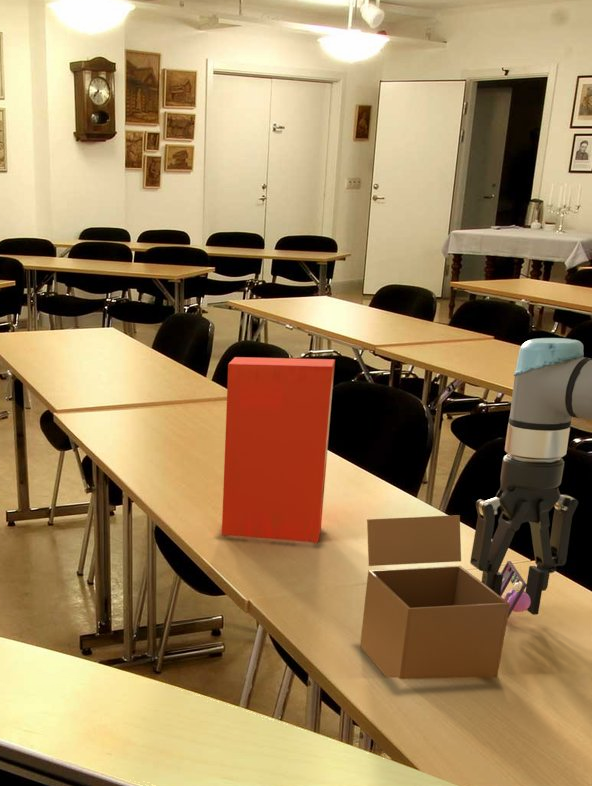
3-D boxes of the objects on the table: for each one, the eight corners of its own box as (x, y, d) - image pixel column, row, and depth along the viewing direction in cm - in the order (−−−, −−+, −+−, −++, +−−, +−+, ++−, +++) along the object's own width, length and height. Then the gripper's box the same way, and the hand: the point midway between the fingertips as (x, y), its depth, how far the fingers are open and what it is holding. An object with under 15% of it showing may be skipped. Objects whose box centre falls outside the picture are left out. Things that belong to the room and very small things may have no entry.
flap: (369, 566, 122) (368, 565, 122) (461, 561, 123) (460, 561, 123) (367, 519, 122) (366, 519, 122) (459, 515, 122) (458, 515, 123)
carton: (359, 646, 126) (368, 570, 122) (449, 641, 127) (460, 565, 123) (397, 691, 115) (408, 609, 110) (495, 685, 115) (510, 603, 111)
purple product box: (503, 558, 134) (519, 582, 126) (537, 570, 134) (555, 594, 125) (481, 597, 137) (496, 623, 129) (515, 608, 136) (531, 635, 128)
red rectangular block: (228, 523, 176) (235, 356, 163) (320, 531, 170) (335, 358, 158) (221, 538, 169) (228, 364, 156) (317, 546, 163) (332, 367, 151)
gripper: (582, 446, 128) (556, 598, 136) (455, 453, 127) (436, 606, 135) (616, 458, 121) (586, 618, 129) (482, 466, 120) (460, 626, 128)
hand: (510, 611), depth 132 cm, fingers closed on purple product box, 5 cm apart
